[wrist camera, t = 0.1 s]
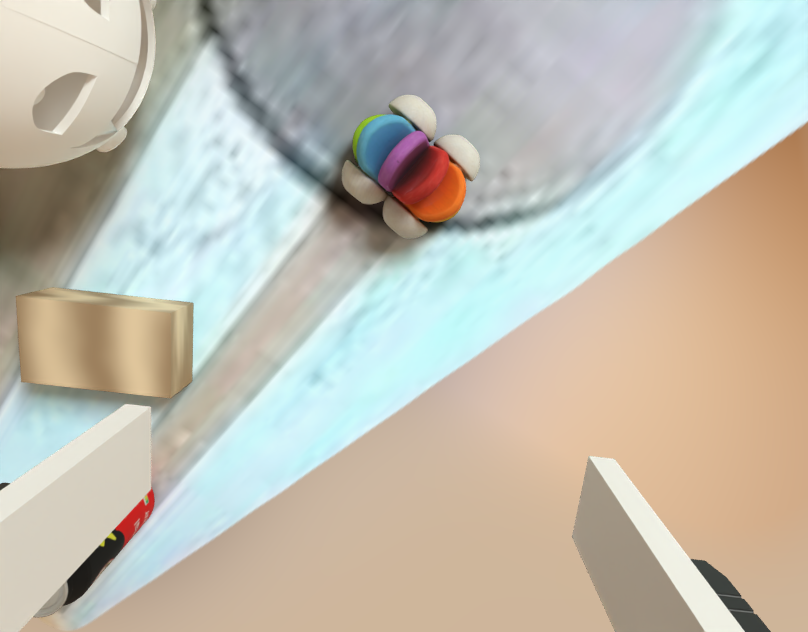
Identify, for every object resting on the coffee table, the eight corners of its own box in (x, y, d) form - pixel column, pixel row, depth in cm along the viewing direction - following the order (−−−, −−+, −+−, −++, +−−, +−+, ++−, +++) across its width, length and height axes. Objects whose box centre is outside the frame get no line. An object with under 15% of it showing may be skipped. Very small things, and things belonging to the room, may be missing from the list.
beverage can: (93, 517, 48) (-12, 620, 36) (91, 456, 47) (-19, 542, 35) (160, 524, 48) (76, 629, 36) (159, 463, 47) (72, 552, 35)
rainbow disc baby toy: (421, 252, 42) (421, 262, 35) (328, 171, 41) (310, 165, 34) (492, 169, 40) (507, 163, 33) (398, 84, 39) (393, 58, 32)
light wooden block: (55, 366, 45) (21, 381, 41) (52, 287, 43) (15, 296, 39) (192, 381, 45) (170, 398, 41) (193, 302, 43) (170, 312, 39)
